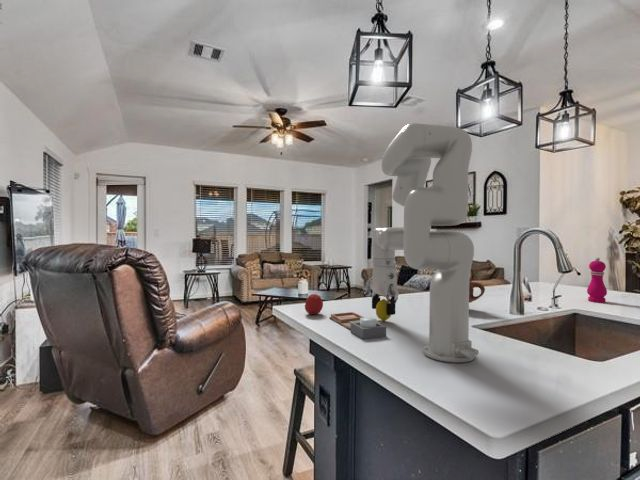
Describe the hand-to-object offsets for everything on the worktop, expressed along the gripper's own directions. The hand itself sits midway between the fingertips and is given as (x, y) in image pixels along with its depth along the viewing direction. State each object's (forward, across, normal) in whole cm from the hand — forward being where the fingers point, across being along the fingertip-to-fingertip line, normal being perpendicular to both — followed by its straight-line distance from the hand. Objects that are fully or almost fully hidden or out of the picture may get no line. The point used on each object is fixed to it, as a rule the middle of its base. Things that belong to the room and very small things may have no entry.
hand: (383, 311), depth 129 cm
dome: (+3, -12, +13) cm, 18 cm away
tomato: (+4, +20, +19) cm, 28 cm away
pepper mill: (+4, -4, -109) cm, 109 cm away
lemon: (+4, 0, 0) cm, 4 cm away
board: (+3, +1, +11) cm, 12 cm away
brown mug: (+4, +6, -39) cm, 40 cm away
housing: (+3, -12, +13) cm, 18 cm away
